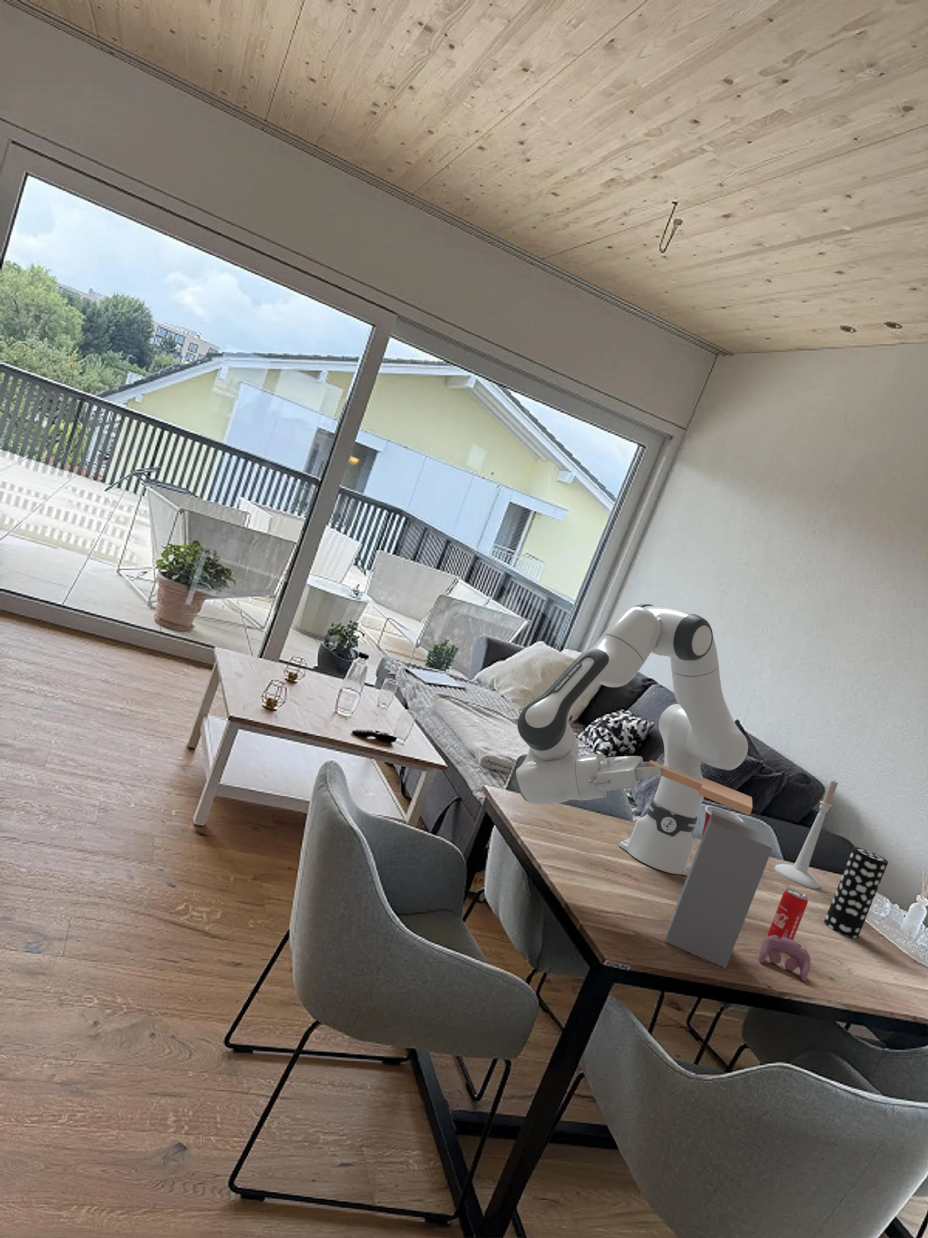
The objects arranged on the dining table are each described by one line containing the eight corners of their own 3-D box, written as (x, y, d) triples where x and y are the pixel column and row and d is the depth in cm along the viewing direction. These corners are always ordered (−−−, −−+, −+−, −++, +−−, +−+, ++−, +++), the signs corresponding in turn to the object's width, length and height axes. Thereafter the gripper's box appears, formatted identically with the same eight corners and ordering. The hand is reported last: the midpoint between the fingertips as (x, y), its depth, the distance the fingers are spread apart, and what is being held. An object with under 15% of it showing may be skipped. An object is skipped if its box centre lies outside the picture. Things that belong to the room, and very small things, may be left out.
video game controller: (802, 984, 192) (812, 950, 195) (807, 982, 188) (817, 948, 190) (754, 963, 195) (764, 930, 197) (758, 960, 191) (768, 927, 193)
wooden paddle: (649, 764, 198) (652, 757, 198) (749, 804, 192) (751, 797, 192) (644, 772, 186) (646, 765, 186) (749, 815, 181) (752, 808, 180)
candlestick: (799, 872, 279) (836, 776, 276) (828, 892, 267) (868, 793, 264) (765, 863, 274) (803, 767, 271) (793, 884, 262) (833, 783, 259)
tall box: (670, 921, 197) (712, 810, 195) (726, 946, 194) (770, 833, 191) (665, 941, 184) (710, 822, 182) (725, 969, 181) (772, 848, 179)
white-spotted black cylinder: (843, 937, 229) (874, 860, 227) (817, 919, 236) (846, 845, 234) (865, 939, 233) (895, 864, 231) (838, 922, 240) (867, 849, 238)
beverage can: (791, 953, 203) (811, 902, 202) (767, 944, 204) (787, 893, 203) (787, 944, 208) (806, 894, 207) (764, 935, 209) (783, 885, 208)
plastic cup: (685, 846, 262) (700, 806, 261) (697, 842, 271) (712, 803, 270) (721, 865, 256) (737, 823, 255) (733, 860, 265) (748, 820, 264)
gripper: (583, 768, 185) (655, 759, 181) (598, 754, 205) (663, 746, 201) (589, 801, 185) (660, 792, 181) (603, 784, 204) (668, 775, 201)
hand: (662, 767), depth 191 cm, fingers closed on wooden paddle, 4 cm apart
